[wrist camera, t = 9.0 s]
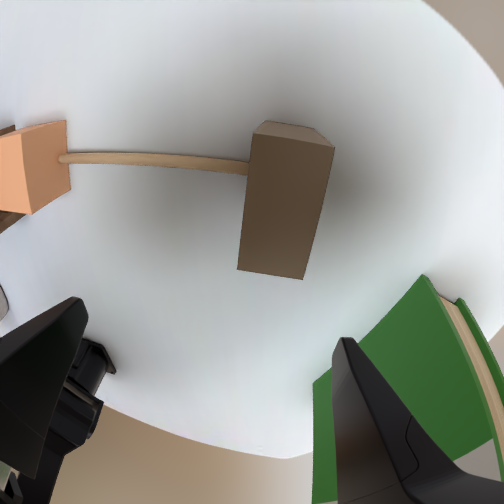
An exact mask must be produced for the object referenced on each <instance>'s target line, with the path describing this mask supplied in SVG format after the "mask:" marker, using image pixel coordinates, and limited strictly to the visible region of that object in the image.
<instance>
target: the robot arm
mask: <svg viewBox="0 0 504 504" xmlns="http://www.w3.org/2000/svg"><path fill="white" fill-rule="evenodd" d="M87 322H88V313H87V310H86V307H85V305H84V302H83V300H82V299H81V298H78V297H70V298H68V299H67V300H65V301H63V302H61V303H59V304H58V305H56V306H54V307H52V308H50V309H49V310H47V311H45V312H43V313H42V314H40V315H38V316H36V317H35V318H33V319H31V320H29V321H28V322H26V323H24V324H23V325H21V326H19V327H18V328H16V329H14V330H13V331H11V332H9V333H8V334H6V335H4V336H3V337H1V338H0V504H49V503H50V499H51V496H52V492H53V489H54V486H55V483H56V479H57V476H58V473H59V470H60V467H61V464H62V461H63V459H64V456H65V455H66V454H68V453H69V452H71V451H73V450H74V449H76V448H78V447H79V446H81V445H83V444H84V443H85V440H86V439H89V438H90V437H91V435H92V434H93V432H94V430H95V428H96V425H97V422H98V419H99V415H100V413H101V409H102V406H103V404H104V402H103V401H102V400H99V399H98V398H96V397H95V396H94V395H95V393H96V391H97V389H98V387H99V385H100V383H101V381H102V379H103V377H104V375H105V373H106V372H108V373H111V374H115V373H116V370H115V369H114V367H113V365H112V363H111V361H110V359H109V357H108V355H107V353H106V351H105V349H104V347H103V346H101V345H99V344H96V343H93V342H90V341H87V340H84V339H82V336H83V333H84V330H85V328H86V325H87ZM332 411H333V422H334V435H335V450H336V469H337V504H504V482H501V481H497V480H492V479H488V478H484V477H480V476H476V475H473V474H469V473H467V472H465V471H463V470H462V469H460V468H459V467H458V466H457V465H456V464H455V463H454V462H453V461H452V460H451V459H450V458H449V457H448V456H447V455H446V453H445V452H444V451H443V450H442V449H441V448H440V447H439V446H438V445H437V444H436V443H435V442H434V440H433V439H432V438H431V437H430V436H429V435H428V434H427V432H426V431H425V430H424V429H423V427H422V426H421V425H420V424H419V422H418V421H417V420H416V418H415V417H414V416H413V415H411V414H412V413H411V412H410V410H409V409H408V408H407V406H406V405H405V404H404V402H403V401H402V400H401V399H400V397H399V396H398V395H397V393H396V392H395V391H394V389H393V388H392V387H391V386H390V384H389V383H388V382H387V380H386V379H385V378H384V376H383V375H382V374H381V373H380V371H379V370H378V369H377V367H376V366H375V365H374V364H373V362H372V361H371V360H370V359H369V357H368V356H367V355H366V353H365V352H364V351H363V350H362V348H361V347H360V346H359V345H358V343H357V342H356V341H355V340H354V339H353V338H351V337H341V338H340V339H339V341H338V343H337V345H336V347H335V350H334V352H333V355H332ZM12 468H14V469H15V470H17V471H19V472H18V475H17V478H16V476H15V473H13V472H12V471H11V470H12Z"/></svg>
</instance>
